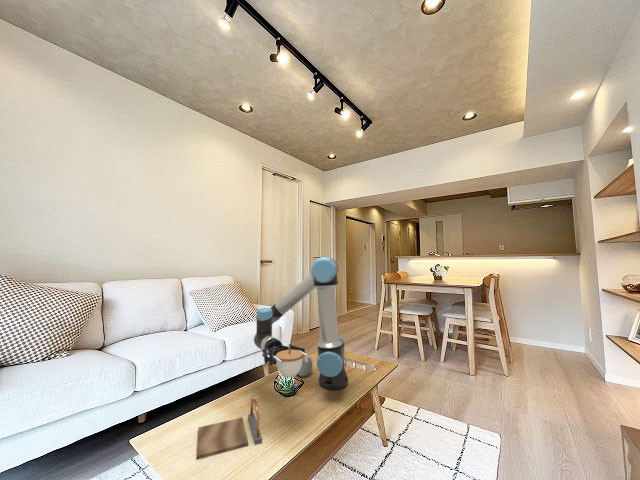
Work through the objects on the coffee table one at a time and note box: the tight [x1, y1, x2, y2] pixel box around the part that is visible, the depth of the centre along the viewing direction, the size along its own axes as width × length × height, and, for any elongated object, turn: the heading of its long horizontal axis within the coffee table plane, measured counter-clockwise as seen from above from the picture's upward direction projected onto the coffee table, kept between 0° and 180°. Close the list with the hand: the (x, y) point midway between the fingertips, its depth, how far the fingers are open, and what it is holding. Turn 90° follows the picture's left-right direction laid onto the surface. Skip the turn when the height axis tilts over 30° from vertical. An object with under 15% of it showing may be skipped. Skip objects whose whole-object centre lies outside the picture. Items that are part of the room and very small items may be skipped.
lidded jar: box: [276, 349, 303, 378], centre depth 107 cm, size 11×11×9 cm
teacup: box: [297, 356, 313, 377], centre depth 150 cm, size 14×11×8 cm
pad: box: [196, 416, 249, 460], centre depth 95 cm, size 16×16×1 cm
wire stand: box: [247, 412, 263, 446], centre depth 100 cm, size 2×17×1 cm, turn 23°
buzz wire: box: [249, 396, 260, 437], centre depth 100 cm, size 1×15×10 cm, turn 23°
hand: (294, 361), depth 103 cm, fingers closed on lidded jar, 11 cm apart
